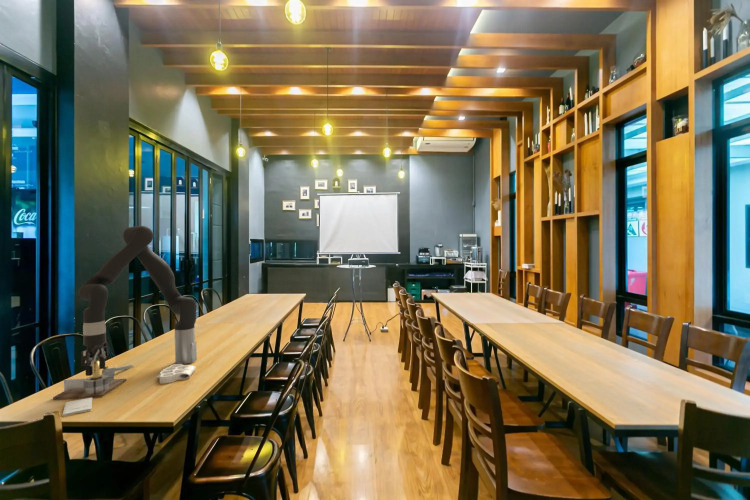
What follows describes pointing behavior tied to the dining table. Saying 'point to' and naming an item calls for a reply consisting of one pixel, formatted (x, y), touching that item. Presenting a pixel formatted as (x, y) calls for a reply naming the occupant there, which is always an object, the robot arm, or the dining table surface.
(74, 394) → the hinge board
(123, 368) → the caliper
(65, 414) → the external hard drive
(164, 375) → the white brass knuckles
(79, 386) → the hinge
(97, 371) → the hinge pin
